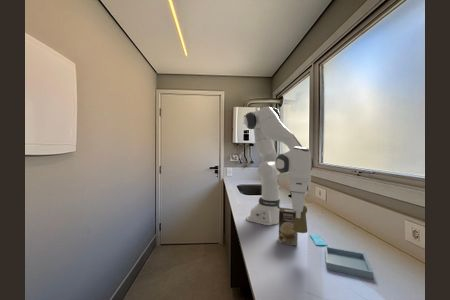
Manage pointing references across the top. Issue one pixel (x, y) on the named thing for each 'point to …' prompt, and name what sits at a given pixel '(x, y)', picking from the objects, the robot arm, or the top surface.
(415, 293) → the top surface
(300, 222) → the cork
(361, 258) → the tray
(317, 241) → the sponge
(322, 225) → the top surface
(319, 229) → the top surface
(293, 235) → the coffee box
